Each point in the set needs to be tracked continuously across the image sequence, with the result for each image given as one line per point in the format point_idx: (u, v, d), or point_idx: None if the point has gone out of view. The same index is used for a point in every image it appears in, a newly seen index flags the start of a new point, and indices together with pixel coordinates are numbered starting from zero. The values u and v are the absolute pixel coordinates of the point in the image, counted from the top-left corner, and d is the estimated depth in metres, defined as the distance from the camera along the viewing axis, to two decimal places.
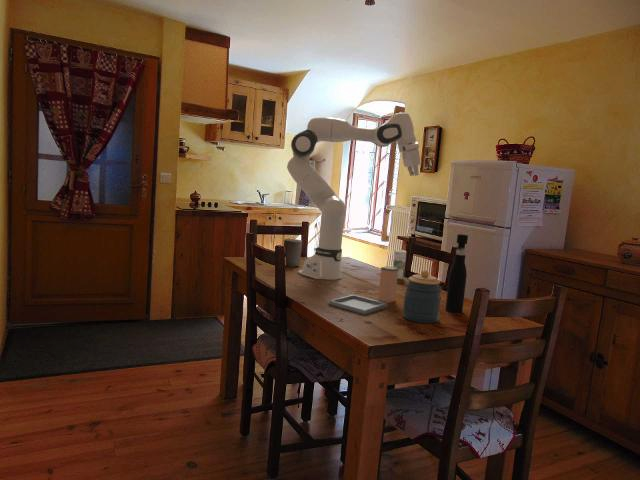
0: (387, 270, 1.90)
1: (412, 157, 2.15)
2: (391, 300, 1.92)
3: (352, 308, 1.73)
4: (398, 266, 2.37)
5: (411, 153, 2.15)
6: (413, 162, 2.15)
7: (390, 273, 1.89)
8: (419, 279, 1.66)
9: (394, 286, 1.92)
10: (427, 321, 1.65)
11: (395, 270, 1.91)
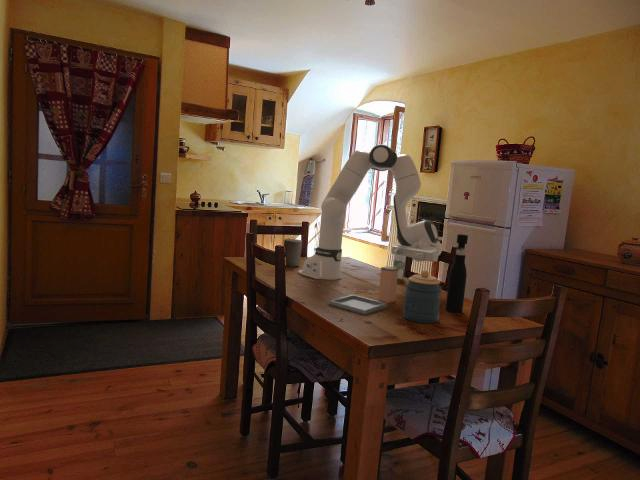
0: (387, 270, 1.90)
1: (436, 252, 2.02)
2: (391, 300, 1.92)
3: (352, 308, 1.73)
4: (398, 266, 2.37)
5: (437, 252, 2.03)
6: (434, 253, 2.00)
7: (390, 273, 1.89)
8: (419, 279, 1.66)
9: (394, 286, 1.92)
10: (427, 321, 1.65)
11: (395, 270, 1.91)
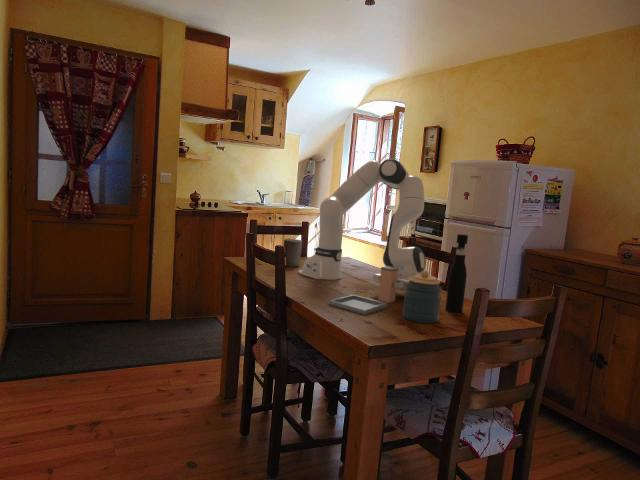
0: (387, 270, 1.90)
1: None
2: (391, 300, 1.92)
3: (352, 308, 1.73)
4: None
5: None
6: None
7: (390, 272, 1.89)
8: (419, 279, 1.66)
9: None
10: (427, 321, 1.65)
11: (395, 270, 1.91)
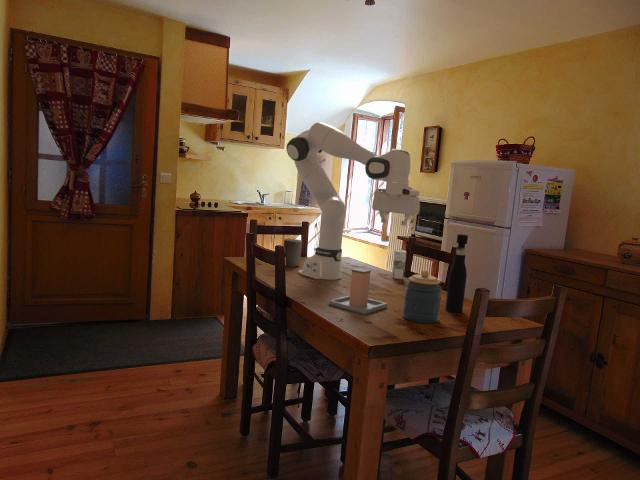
0: (358, 272, 1.77)
1: (416, 205, 1.85)
2: (363, 305, 1.79)
3: (352, 308, 1.73)
4: (398, 266, 2.37)
5: (415, 200, 1.85)
6: (415, 211, 1.85)
7: (361, 275, 1.76)
8: (419, 279, 1.66)
9: (366, 289, 1.79)
10: (427, 321, 1.65)
11: (367, 272, 1.78)
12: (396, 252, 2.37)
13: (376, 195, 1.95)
